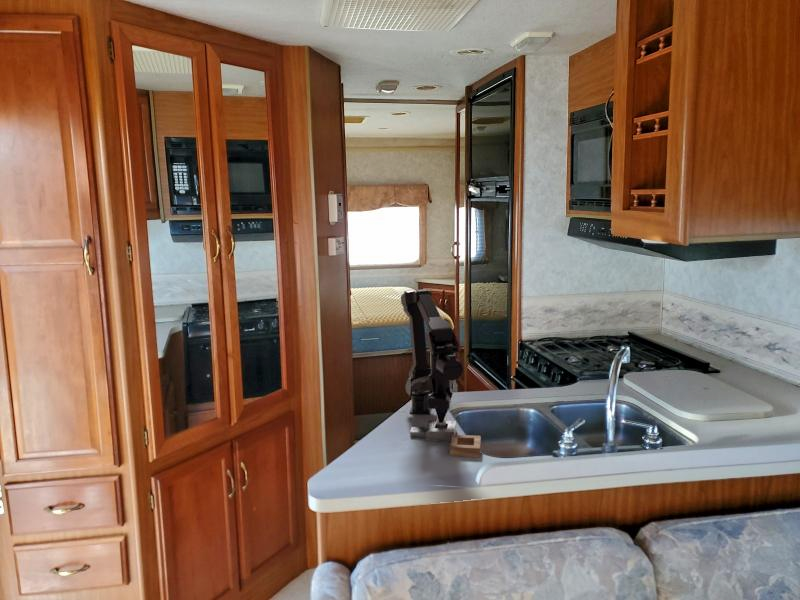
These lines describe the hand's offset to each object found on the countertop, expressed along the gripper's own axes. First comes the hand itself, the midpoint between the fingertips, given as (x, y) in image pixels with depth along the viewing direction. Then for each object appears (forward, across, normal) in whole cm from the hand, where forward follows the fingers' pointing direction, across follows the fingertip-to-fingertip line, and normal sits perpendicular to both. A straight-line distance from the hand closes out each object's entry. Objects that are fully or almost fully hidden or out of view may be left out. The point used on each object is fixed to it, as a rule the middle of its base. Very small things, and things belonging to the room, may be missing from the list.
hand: (441, 420), depth 176 cm
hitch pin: (+4, 0, 0) cm, 4 cm away
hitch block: (+5, 0, -2) cm, 5 cm away
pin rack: (+5, +8, +8) cm, 12 cm away
